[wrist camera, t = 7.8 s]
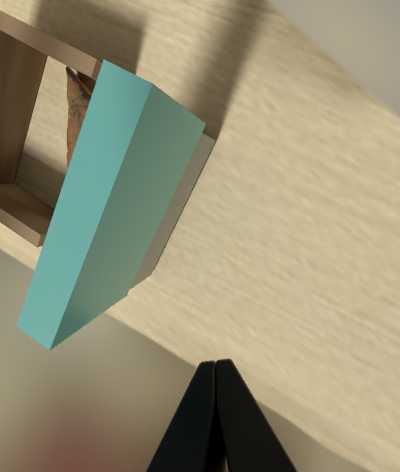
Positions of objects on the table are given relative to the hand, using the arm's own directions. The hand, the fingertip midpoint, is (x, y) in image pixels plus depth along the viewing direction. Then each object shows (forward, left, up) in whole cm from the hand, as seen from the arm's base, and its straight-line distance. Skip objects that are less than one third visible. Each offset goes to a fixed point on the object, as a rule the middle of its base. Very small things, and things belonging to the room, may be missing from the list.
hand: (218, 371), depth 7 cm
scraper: (+7, 0, -12) cm, 14 cm away
